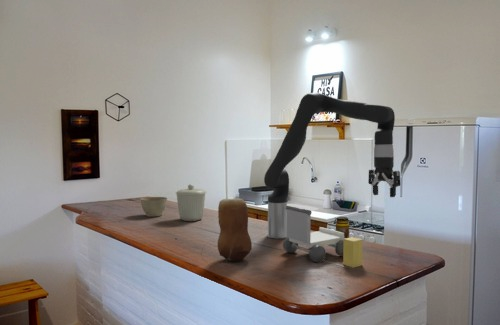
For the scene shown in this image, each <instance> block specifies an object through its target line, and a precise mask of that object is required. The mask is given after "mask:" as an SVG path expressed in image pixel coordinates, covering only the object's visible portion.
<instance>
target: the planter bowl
mask: <svg viewBox="0 0 500 325" xmlns="http://www.w3.org/2000/svg"><path fill="white" fill-rule="evenodd" d="M167 202H168V197H165V196H149V197H142V198H140V205H141V208H142V210H143V211H144V213H145V214H146V217H148V218H149V217H151V218H152V217H161V216H163V213H164V211H165V209H166V207H167Z"/></svg>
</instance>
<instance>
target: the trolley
mask: <svg viewBox="0 0 500 325" xmlns="http://www.w3.org/2000/svg"><path fill="white" fill-rule="evenodd" d="M286 210H287V237H285V238H284V240H283V242H282V248H283V250H284V251H285V252H286V253H289V254H293V253H295V252H296V251H297V250H300V251H302V252H303V251H304V252H306V253H309V254H308V255H309V258H310V260H311V261H312V262H315V263H318V264H319V263H321V262H324V260H325V258H326V255H327V252H326V248H325V247H324V246H328V247H331V248H334V249H335V250H334V251H335V253H336V255H337V256H340V257H343V239H344V233H342V232H338V231H336V230H334V229H330V228H326V227H321V226H319V230H318V231H317V230H316V231H311V215H312V210H309V209H305V208H300V207H296V206H295V207H294V206H291V205H287V206H286ZM334 243H337V244H334ZM300 245H301V246H300ZM303 246H304V247H303ZM305 247H307V248H305ZM309 248H310V249H309Z"/></svg>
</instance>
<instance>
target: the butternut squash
mask: <svg viewBox="0 0 500 325" xmlns="http://www.w3.org/2000/svg"><path fill="white" fill-rule="evenodd" d="M217 209H218V211H217V212H218V216H217V217H218V225H219V228H220V230H219V231H220V232H219V236H218V239H217V250H218V253H219V256H221V257H223V258H224V259H225V260H227V261H231V262H237V263H238V262H241V261H242V260H245V258H246V257H247V256H248V255H249V254H250V252H251V251H252V245H253V244H252V239H251V236H250V234H249V228H248V227H249V211H248V206H247V203H246V201H245V199H243V198H224V199H221V200H219V203H218V208H217Z"/></svg>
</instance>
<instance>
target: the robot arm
mask: <svg viewBox="0 0 500 325" xmlns="http://www.w3.org/2000/svg"><path fill="white" fill-rule="evenodd" d="M320 113H334V114H338V115H341V116H343V117H346V118H350V119H355V120H359V121H360V120H361V121H368V122H371V123H376V124H377V129H376V131H375V132H374V148H373V167H374V169H369V170H368V184H369V185H370V186H372V195H373V196H378V195H379V184H380V182H386V183H387V184H388V186H389V187H390V188H389V197H390V198H395V196H396V195H397V193H396V192H397V191H396V189H397V187H401V173H400V170H393V168H394V164H395V163H394V160H395V159H394V157H395V156H394V145H393V144H394V142H393V140H394V138H393V134H394V132H393V131H394V127H395V119H396V117H395V111H394V109H393V108H392V107H390V106H385V105H379V104H369V103H366V102H360V101H355V100H354V101H352V100H347V99H346V100H345V99H339V98H336V97H331V96H329V95H326V94H323V93H320V92H311V93H310V92H309V93H306V94H305V95H303V96H302V98H301V100H300V102H299V104H298V107H297V109H296V112H295V116H294V118H293V119H292V120H293V121H292V122H291V124H290V126H289V129H288V131H287V132H286V135H285V136H284V138H283V140H282V142H281V145H280V147H279V149H278V151H277V152H276V155H275V156H274V159H273V160H272V162H271V164H270V165H269V167H268V168H267V170H266V172H265V173H264V178H263V181H264V182H263V183H264V185H265V187H266V188H269V189H274V190H273V192H272V193H270V194H269V195H268V197H267V237H268V238H269V239H286V238H287V210H286V206H288V196H289V188H290V177H289V174H288V171H287V170H286V169H285V168H286V167H287V165H289V164H290V162H292V161H293V160H294V159H296V157H297V156H298V155H299V154H300V152H301V151H302V149H303V147H304V145H305V143H306V139H307V129H308V126H309V124H310V122H311V120H312V119H313V117H314V116H315V115H316V114H317V115H318V114H320Z"/></svg>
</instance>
